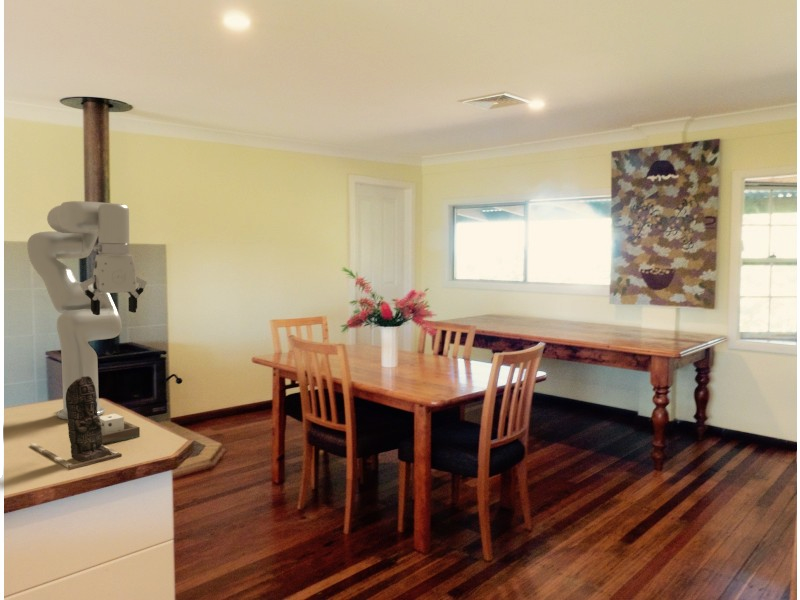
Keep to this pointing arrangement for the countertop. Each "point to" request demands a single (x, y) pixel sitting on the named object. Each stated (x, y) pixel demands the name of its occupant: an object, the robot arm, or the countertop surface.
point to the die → (111, 423)
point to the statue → (84, 421)
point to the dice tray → (121, 434)
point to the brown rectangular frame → (70, 466)
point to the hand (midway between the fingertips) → (114, 313)
